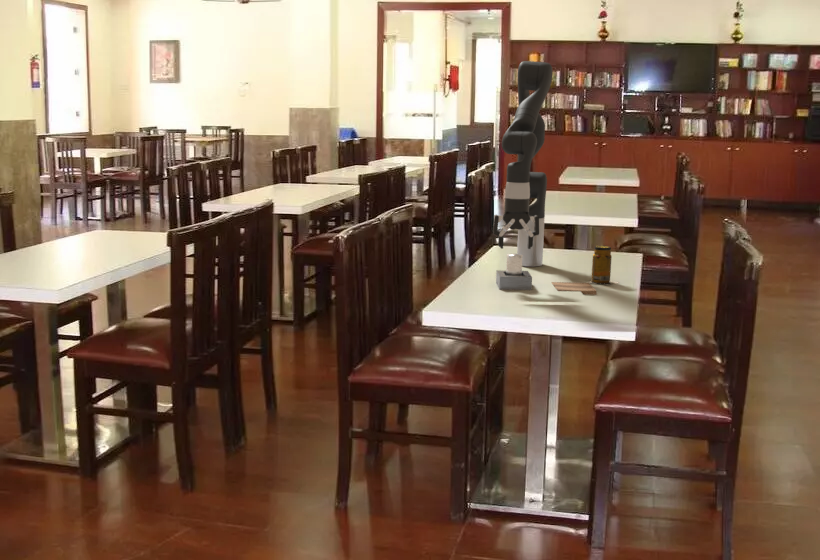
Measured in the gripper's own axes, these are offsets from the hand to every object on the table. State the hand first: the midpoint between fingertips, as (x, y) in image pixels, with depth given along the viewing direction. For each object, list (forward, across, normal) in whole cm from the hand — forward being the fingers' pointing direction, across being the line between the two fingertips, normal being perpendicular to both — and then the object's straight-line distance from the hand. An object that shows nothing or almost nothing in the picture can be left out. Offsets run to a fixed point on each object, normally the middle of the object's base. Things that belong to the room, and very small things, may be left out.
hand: (515, 248), depth 288 cm
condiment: (+13, -31, -12) cm, 36 cm away
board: (+13, -19, 0) cm, 23 cm away
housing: (+13, 0, 0) cm, 13 cm away
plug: (+12, 0, 0) cm, 12 cm away
